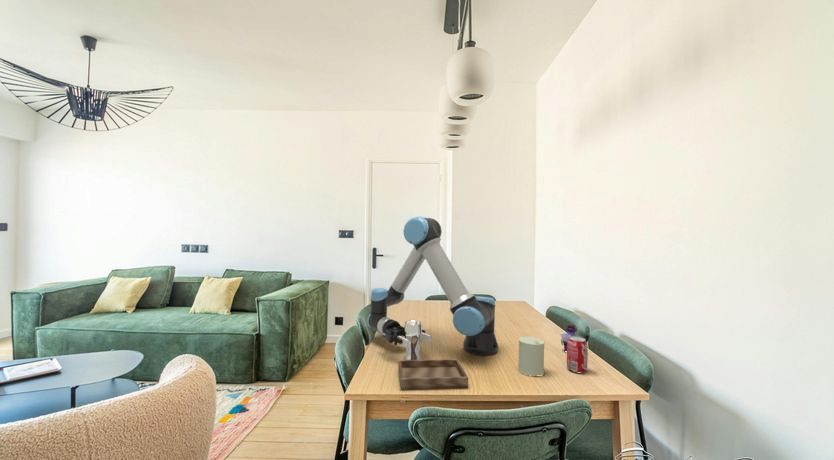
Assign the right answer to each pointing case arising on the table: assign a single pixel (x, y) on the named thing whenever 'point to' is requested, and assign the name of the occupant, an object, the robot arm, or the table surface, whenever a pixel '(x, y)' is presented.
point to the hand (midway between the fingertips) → (419, 341)
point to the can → (531, 356)
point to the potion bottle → (568, 335)
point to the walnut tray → (431, 374)
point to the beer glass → (413, 339)
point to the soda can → (577, 354)
